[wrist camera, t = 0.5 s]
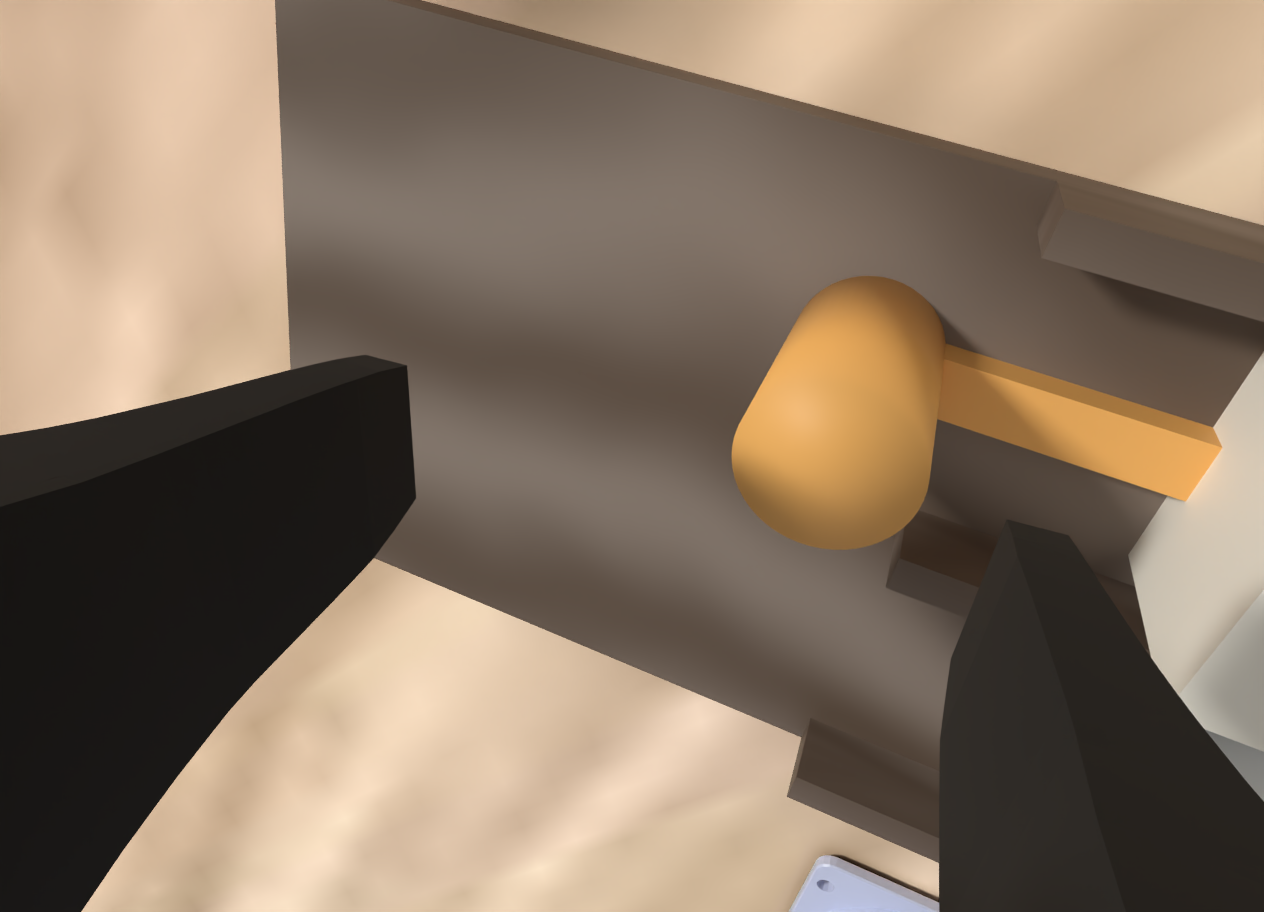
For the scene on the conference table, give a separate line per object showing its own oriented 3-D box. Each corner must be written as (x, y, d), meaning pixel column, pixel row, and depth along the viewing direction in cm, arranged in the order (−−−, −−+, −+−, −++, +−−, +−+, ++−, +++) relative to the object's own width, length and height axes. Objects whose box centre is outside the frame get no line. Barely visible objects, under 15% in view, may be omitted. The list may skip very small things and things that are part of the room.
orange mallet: (1398, 649, 16) (1532, 877, 12) (762, 427, 19) (698, 555, 15) (1610, 432, 14) (1873, 632, 10) (833, 206, 16) (778, 288, 12)
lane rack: (1206, 875, 22) (1233, 991, 19) (318, 508, 27) (251, 563, 24) (1736, 351, 13) (1900, 438, 11) (305, -31, 19) (201, -30, 16)
